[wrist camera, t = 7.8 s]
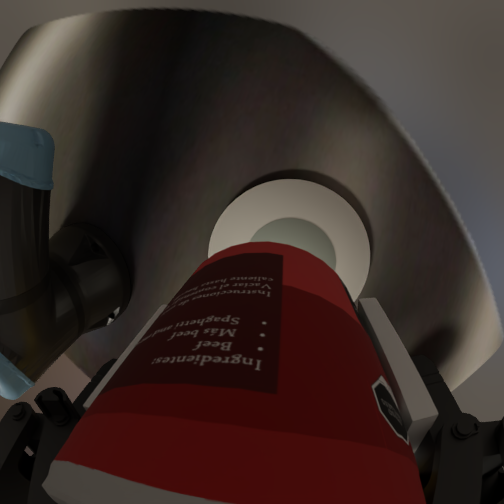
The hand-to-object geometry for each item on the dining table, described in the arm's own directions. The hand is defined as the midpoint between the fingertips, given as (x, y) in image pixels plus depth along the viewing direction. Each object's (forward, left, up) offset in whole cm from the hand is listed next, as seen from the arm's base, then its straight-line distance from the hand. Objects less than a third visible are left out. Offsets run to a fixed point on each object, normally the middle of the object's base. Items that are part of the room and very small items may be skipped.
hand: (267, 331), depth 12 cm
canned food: (0, 0, -2) cm, 2 cm away
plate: (+1, -3, -19) cm, 20 cm away
